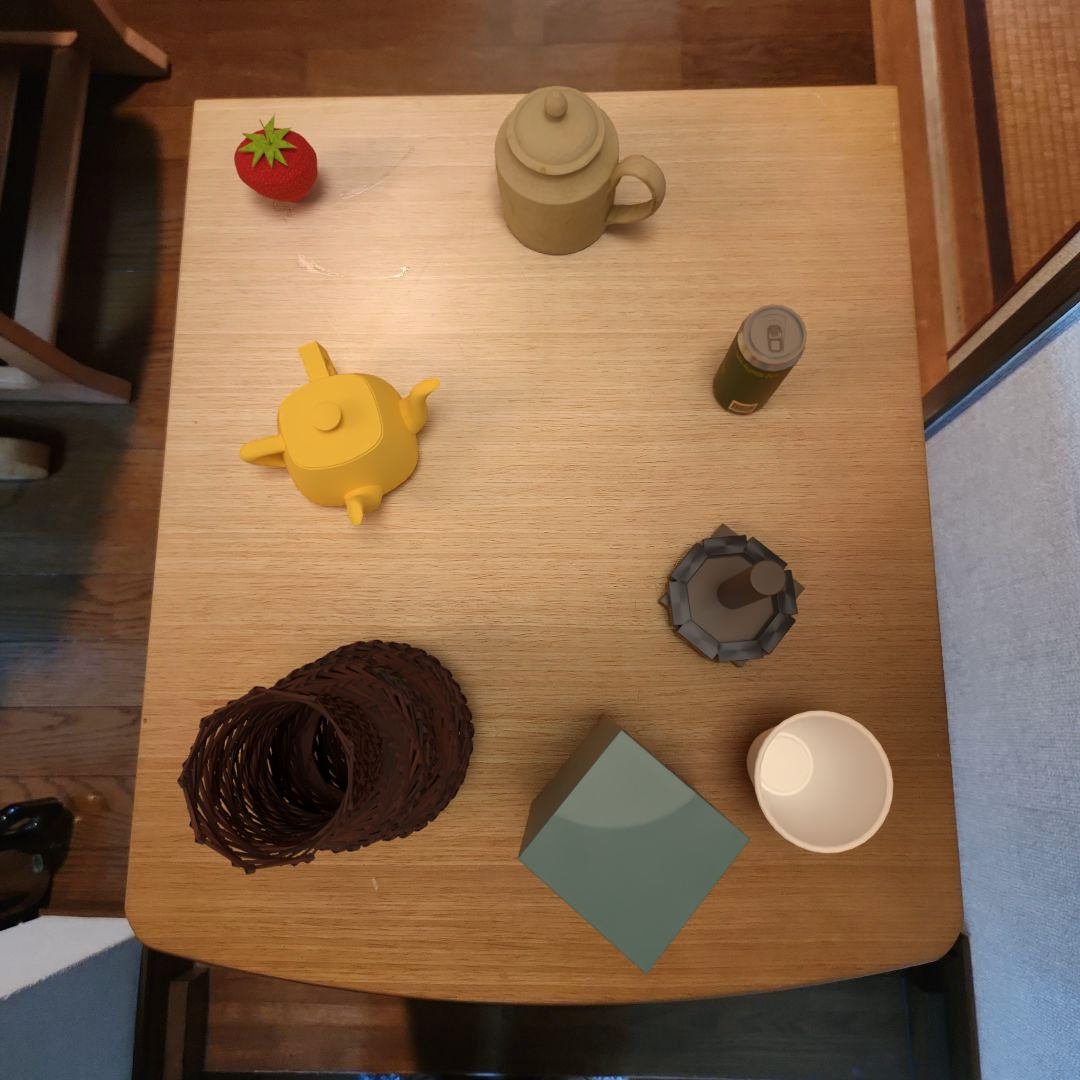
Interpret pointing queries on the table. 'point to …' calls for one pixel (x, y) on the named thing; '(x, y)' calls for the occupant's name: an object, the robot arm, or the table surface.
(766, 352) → the beer can
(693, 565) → the ring
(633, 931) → the stand
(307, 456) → the teapot
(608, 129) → the lidded mug
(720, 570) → the holder
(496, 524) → the table surface
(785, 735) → the cup
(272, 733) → the vase
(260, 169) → the strawberry
